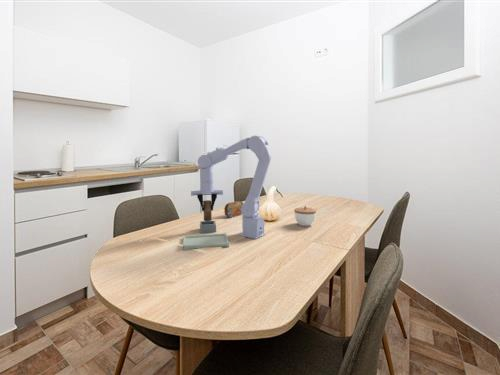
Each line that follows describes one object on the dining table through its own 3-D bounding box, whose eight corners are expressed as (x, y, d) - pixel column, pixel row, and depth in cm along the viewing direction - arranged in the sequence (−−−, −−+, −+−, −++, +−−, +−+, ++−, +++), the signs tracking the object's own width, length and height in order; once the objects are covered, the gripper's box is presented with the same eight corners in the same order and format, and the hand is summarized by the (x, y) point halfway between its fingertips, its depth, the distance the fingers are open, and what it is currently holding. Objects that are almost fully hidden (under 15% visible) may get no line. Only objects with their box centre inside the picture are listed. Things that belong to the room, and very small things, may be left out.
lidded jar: (314, 222, 151) (314, 204, 149) (316, 227, 140) (317, 209, 139) (293, 221, 152) (294, 204, 151) (294, 227, 141) (295, 208, 140)
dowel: (213, 219, 134) (212, 200, 133) (207, 221, 131) (207, 202, 130) (207, 218, 136) (207, 200, 135) (202, 220, 133) (201, 201, 132)
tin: (227, 219, 158) (227, 204, 156) (223, 218, 159) (223, 203, 158) (244, 214, 169) (244, 200, 168) (240, 213, 171) (240, 199, 170)
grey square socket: (215, 228, 139) (215, 220, 138) (216, 233, 132) (215, 224, 131) (200, 229, 137) (199, 221, 137) (200, 234, 130) (200, 225, 130)
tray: (226, 236, 126) (225, 233, 126) (229, 247, 114) (229, 243, 113) (184, 239, 123) (184, 235, 123) (182, 250, 110) (182, 246, 110)
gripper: (221, 180, 136) (222, 207, 138) (190, 180, 134) (191, 209, 136) (223, 181, 129) (223, 211, 131) (190, 182, 127) (191, 212, 129)
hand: (207, 210), depth 133 cm, fingers closed on dowel, 4 cm apart
